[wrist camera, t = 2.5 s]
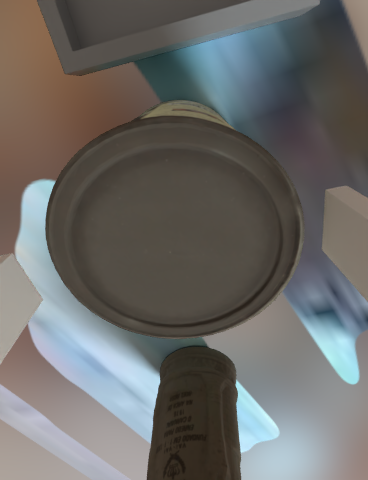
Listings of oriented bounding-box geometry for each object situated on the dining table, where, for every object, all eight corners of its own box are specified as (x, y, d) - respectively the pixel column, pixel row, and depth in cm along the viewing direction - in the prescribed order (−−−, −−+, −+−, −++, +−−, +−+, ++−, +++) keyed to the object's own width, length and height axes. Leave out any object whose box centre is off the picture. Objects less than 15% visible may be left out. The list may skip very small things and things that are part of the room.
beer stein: (141, 362, 37) (101, 606, 19) (201, 330, 33) (218, 593, 16) (206, 408, 43) (219, 626, 25) (263, 385, 39) (323, 619, 22)
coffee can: (143, 228, 26) (104, 354, 14) (103, 118, 21) (-15, 160, 9) (246, 207, 25) (306, 323, 12) (231, 83, 19) (306, 75, 7)
